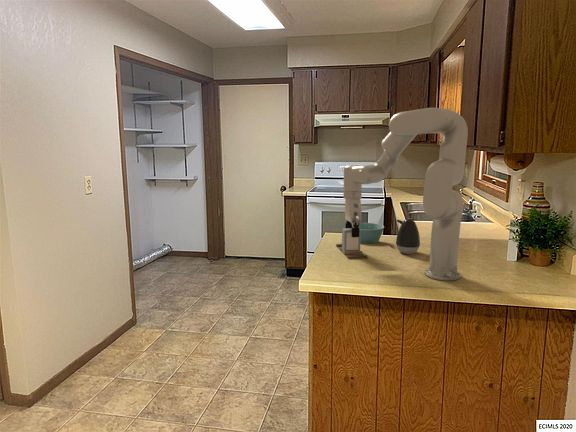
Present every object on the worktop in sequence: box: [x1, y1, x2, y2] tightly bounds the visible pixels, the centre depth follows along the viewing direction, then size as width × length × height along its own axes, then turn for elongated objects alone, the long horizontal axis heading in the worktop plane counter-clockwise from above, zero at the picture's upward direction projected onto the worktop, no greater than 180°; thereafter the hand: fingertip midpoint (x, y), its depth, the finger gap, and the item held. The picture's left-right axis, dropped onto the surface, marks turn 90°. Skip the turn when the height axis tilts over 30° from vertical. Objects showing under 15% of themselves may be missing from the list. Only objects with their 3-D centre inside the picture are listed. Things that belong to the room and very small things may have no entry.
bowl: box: [359, 222, 385, 245], centre depth 202 cm, size 16×16×8 cm
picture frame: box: [341, 227, 361, 253], centre depth 179 cm, size 4×7×10 cm, turn 97°
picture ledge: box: [335, 243, 368, 260], centre depth 180 cm, size 20×8×2 cm, turn 7°
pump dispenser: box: [395, 218, 421, 255], centre depth 183 cm, size 10×10×15 cm
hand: (352, 234), depth 178 cm, fingers open, 9 cm apart
